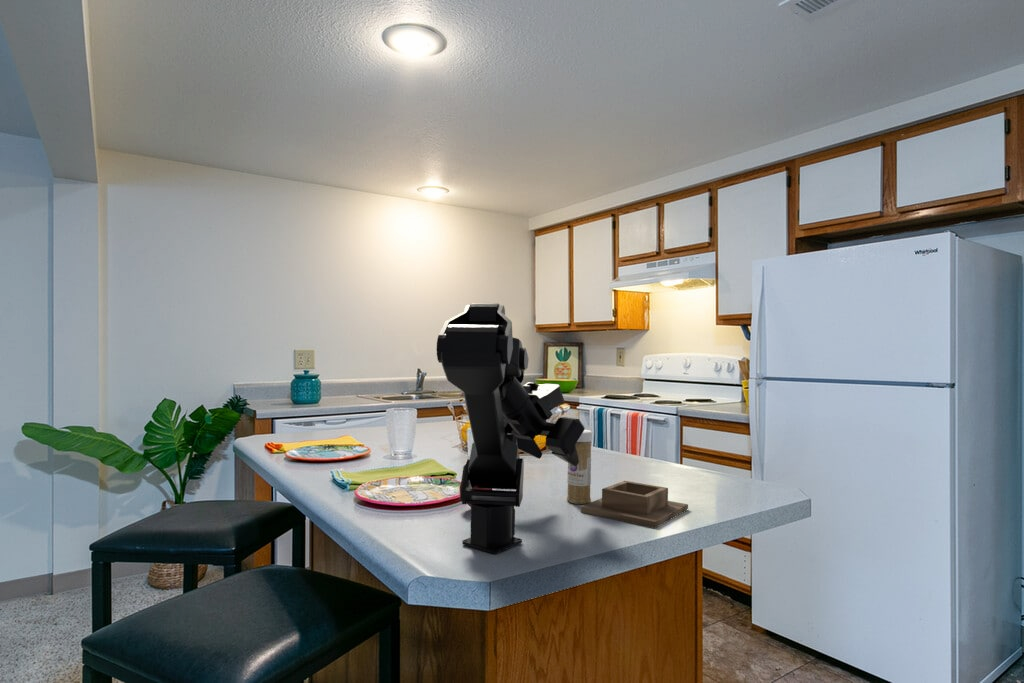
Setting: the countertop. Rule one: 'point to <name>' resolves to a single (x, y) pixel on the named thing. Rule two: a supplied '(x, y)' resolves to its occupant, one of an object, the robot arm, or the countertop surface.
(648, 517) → the walnut collar holder
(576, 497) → the sprinkles bottle
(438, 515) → the countertop surface
